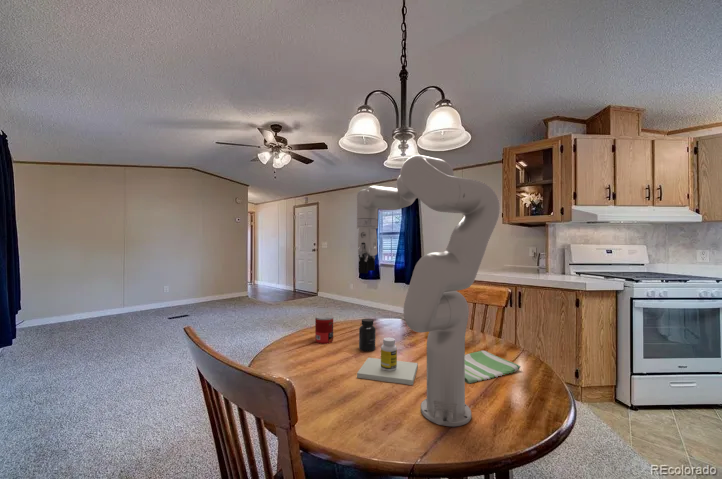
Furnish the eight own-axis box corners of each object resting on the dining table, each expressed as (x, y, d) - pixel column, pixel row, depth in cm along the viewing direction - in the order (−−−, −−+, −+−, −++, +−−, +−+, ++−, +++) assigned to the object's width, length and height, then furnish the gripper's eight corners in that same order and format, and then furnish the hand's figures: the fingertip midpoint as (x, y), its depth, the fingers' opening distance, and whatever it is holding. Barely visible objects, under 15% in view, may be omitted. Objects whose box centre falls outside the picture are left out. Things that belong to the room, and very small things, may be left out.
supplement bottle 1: (374, 352, 122) (374, 322, 122) (357, 351, 123) (357, 321, 123) (376, 346, 129) (376, 318, 129) (360, 345, 130) (360, 317, 130)
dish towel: (434, 364, 111) (434, 357, 111) (483, 355, 120) (483, 348, 120) (468, 385, 95) (468, 377, 95) (523, 373, 103) (523, 365, 103)
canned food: (332, 344, 132) (332, 318, 132) (313, 344, 132) (314, 318, 132) (334, 338, 140) (334, 314, 140) (316, 338, 140) (316, 314, 140)
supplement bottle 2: (392, 372, 99) (392, 342, 99) (377, 369, 102) (377, 339, 102) (399, 367, 104) (399, 338, 104) (385, 363, 107) (385, 335, 107)
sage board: (412, 385, 94) (412, 380, 94) (357, 377, 99) (357, 373, 99) (417, 367, 107) (417, 363, 107) (368, 361, 112) (368, 357, 112)
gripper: (371, 222, 100) (370, 274, 100) (382, 225, 117) (382, 270, 117) (349, 223, 103) (349, 273, 102) (363, 225, 119) (363, 269, 119)
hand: (367, 271), depth 110 cm, fingers open, 9 cm apart
